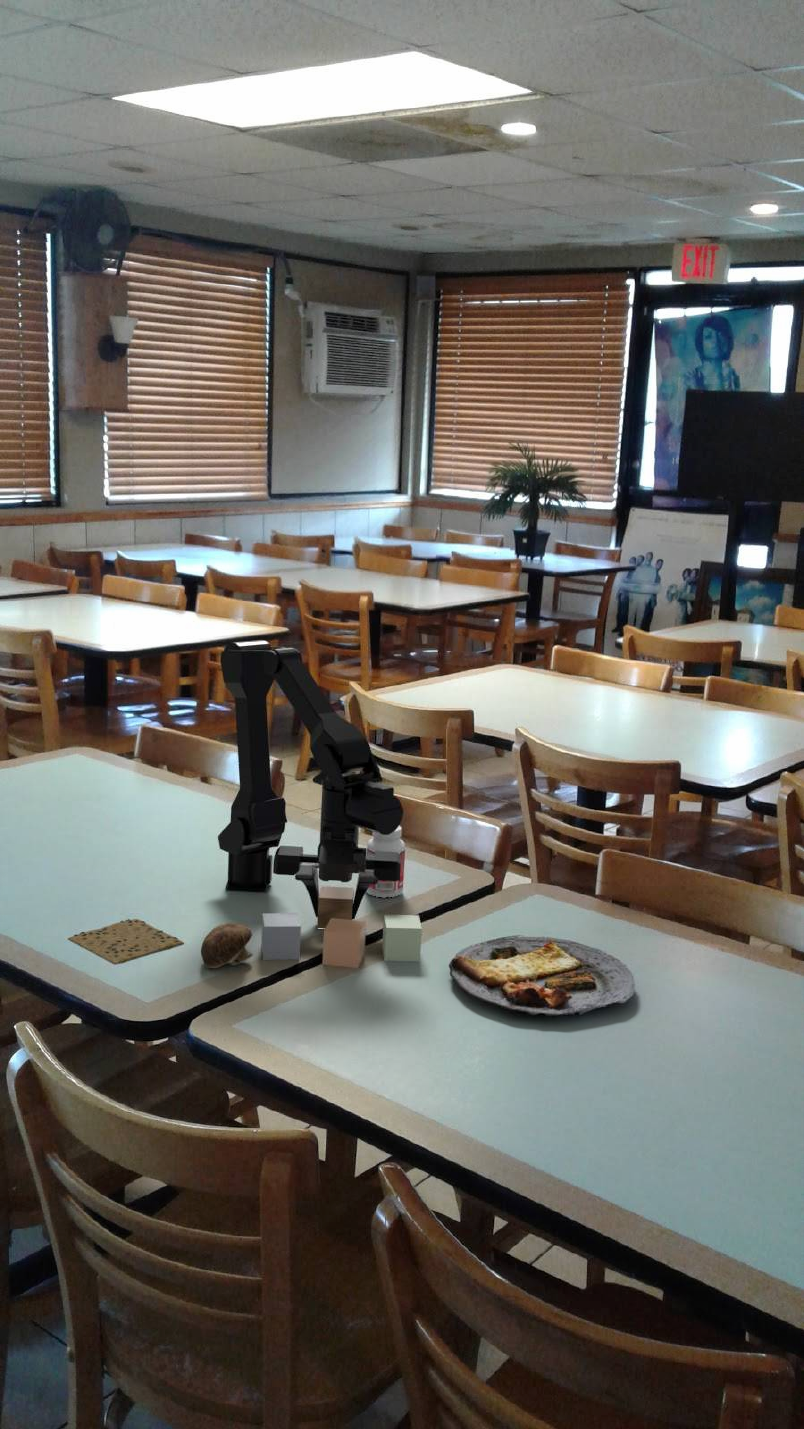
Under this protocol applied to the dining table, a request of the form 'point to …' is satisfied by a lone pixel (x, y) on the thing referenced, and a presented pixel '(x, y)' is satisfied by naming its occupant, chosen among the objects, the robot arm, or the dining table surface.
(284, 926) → the slate cube
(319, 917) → the walnut cube
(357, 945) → the terracotta cube
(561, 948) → the food plate
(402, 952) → the sage cube
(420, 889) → the dining table surface
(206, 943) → the mushroom
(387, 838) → the pill bottle
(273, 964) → the dining table surface
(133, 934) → the cookie
